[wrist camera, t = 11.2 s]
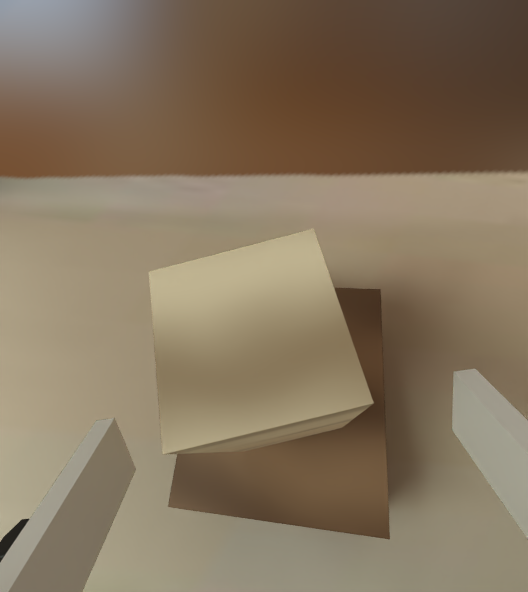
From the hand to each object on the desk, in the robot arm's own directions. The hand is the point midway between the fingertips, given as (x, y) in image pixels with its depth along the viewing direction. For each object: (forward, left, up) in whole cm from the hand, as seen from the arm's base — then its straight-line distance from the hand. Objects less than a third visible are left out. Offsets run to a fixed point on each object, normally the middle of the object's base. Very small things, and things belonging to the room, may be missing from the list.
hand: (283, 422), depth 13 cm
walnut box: (-2, 0, -14) cm, 14 cm away
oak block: (-2, 0, -8) cm, 8 cm away
